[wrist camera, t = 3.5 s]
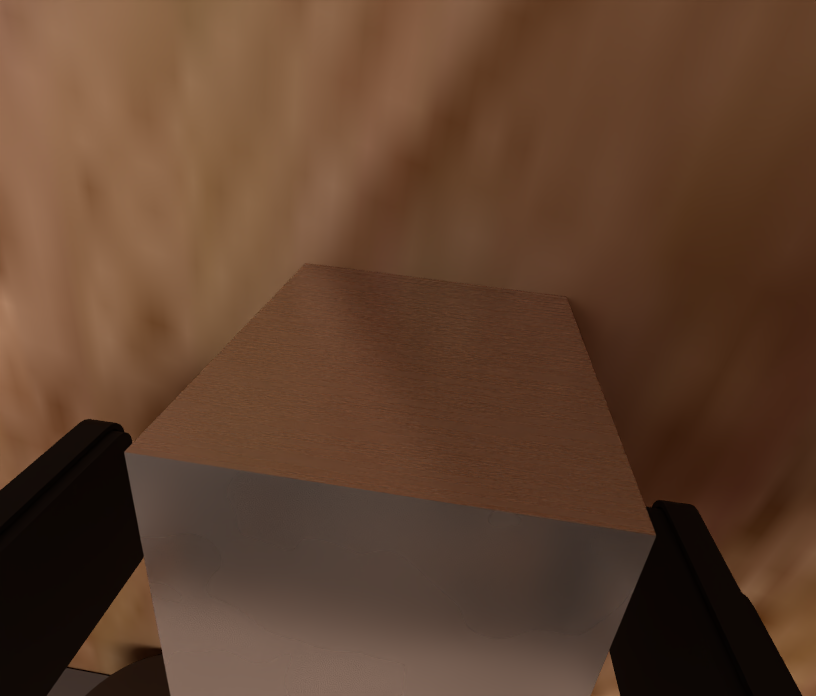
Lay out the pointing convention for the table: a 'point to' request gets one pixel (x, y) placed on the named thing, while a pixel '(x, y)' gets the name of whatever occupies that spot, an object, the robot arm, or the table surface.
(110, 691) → the chassis
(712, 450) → the table surface
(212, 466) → the beige block
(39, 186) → the table surface
